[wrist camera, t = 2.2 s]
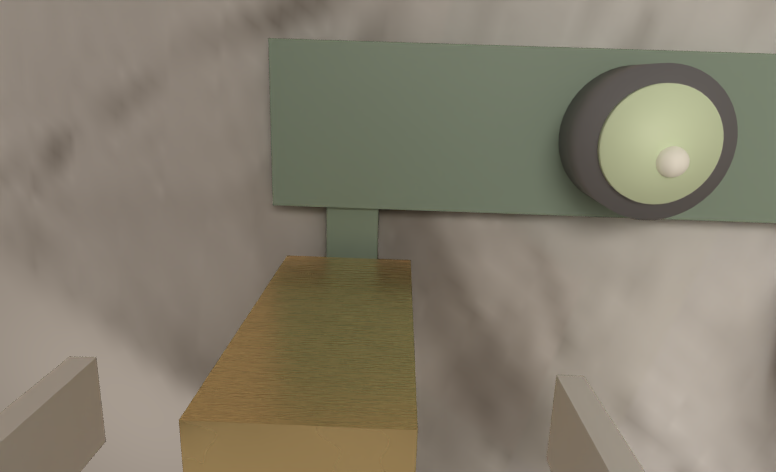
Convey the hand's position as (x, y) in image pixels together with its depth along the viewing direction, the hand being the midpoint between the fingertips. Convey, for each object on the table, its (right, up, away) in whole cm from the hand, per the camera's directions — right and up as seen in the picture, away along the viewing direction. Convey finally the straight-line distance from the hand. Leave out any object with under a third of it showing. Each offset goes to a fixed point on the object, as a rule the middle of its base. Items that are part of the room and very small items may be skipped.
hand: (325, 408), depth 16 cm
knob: (0, +2, +6) cm, 7 cm away
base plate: (+10, +6, +6) cm, 14 cm away
